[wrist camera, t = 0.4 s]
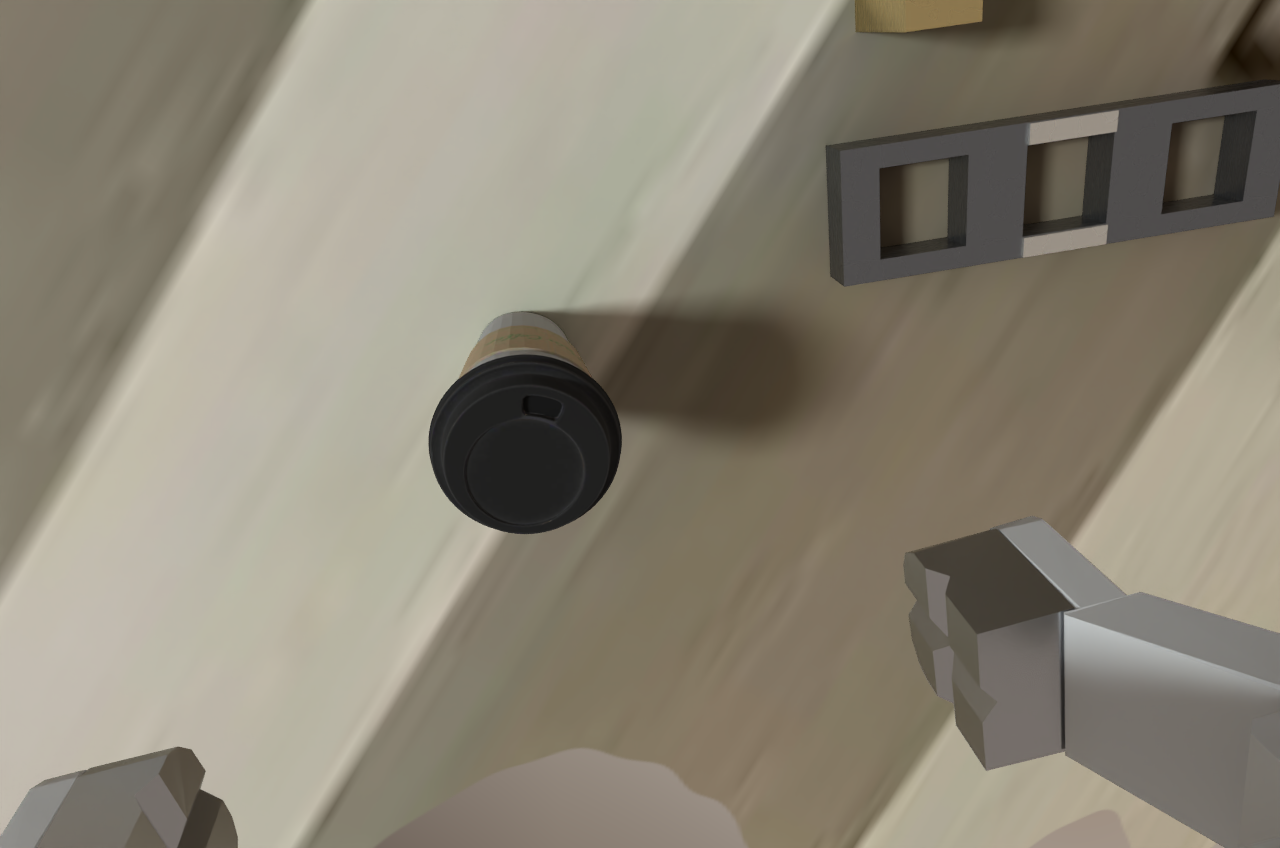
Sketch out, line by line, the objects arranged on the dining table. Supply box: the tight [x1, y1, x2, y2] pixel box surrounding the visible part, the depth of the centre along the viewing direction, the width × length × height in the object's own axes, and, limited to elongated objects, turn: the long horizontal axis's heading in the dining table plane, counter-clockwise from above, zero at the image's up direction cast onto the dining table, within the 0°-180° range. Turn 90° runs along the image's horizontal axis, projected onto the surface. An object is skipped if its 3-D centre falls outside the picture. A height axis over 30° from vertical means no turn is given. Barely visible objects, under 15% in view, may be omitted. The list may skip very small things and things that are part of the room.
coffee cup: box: [429, 312, 622, 534], centre depth 49 cm, size 9×9×15 cm
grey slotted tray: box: [826, 80, 1280, 286], centre depth 55 cm, size 8×28×3 cm, turn 97°
